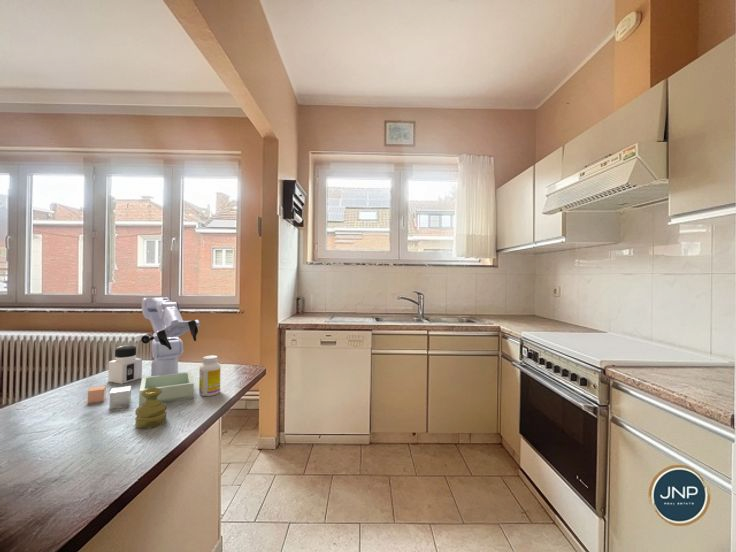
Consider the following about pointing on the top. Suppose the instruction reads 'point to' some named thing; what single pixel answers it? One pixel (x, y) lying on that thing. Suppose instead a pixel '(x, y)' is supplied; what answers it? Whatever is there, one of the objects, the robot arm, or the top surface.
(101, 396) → the terracotta box
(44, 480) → the top surface
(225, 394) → the top surface
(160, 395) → the tote
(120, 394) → the steel block
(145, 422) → the brass calibration weight
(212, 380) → the supplement bottle
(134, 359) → the container
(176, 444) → the top surface
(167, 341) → the robot arm
